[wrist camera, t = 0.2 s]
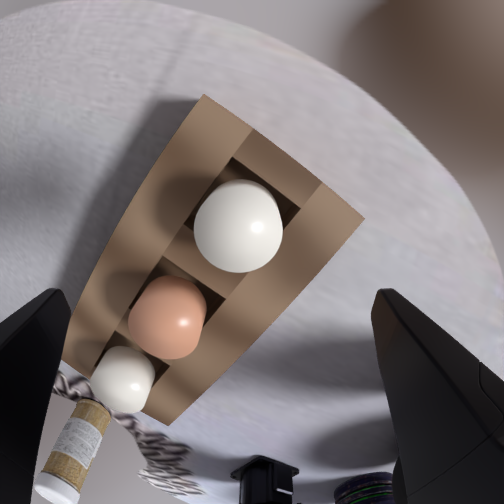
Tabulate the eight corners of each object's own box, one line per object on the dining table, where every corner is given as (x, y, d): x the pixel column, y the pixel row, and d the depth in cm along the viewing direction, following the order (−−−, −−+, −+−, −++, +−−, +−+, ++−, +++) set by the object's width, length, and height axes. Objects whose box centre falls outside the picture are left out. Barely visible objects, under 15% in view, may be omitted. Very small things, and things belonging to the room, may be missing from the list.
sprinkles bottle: (94, 424, 32) (57, 508, 20) (70, 399, 31) (24, 484, 18) (119, 420, 32) (83, 513, 19) (94, 393, 30) (47, 487, 18)
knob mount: (176, 397, 30) (168, 426, 26) (74, 331, 27) (55, 354, 24) (348, 204, 23) (365, 218, 19) (213, 100, 20) (203, 93, 17)
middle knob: (184, 343, 22) (176, 370, 19) (132, 308, 21) (117, 332, 18) (219, 301, 21) (214, 326, 18) (162, 262, 20) (148, 283, 17)
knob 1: (141, 395, 24) (131, 420, 21) (97, 367, 23) (83, 390, 21) (164, 367, 23) (155, 394, 20) (115, 336, 22) (100, 360, 19)
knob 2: (248, 266, 20) (246, 288, 17) (189, 224, 19) (177, 239, 16) (294, 210, 19) (300, 223, 16) (232, 163, 18) (228, 169, 15)
